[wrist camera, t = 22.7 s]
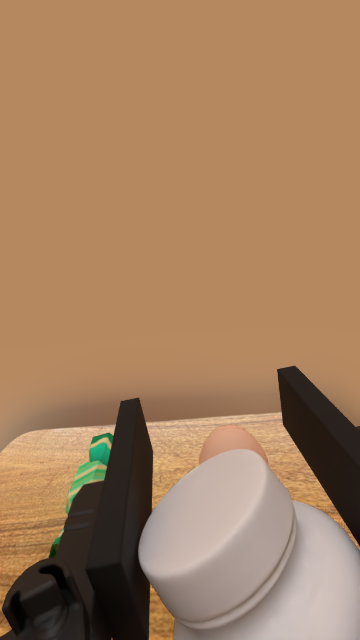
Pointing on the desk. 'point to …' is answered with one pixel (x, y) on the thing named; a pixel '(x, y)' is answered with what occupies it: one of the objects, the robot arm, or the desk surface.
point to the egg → (229, 442)
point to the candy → (88, 473)
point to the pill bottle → (249, 558)
